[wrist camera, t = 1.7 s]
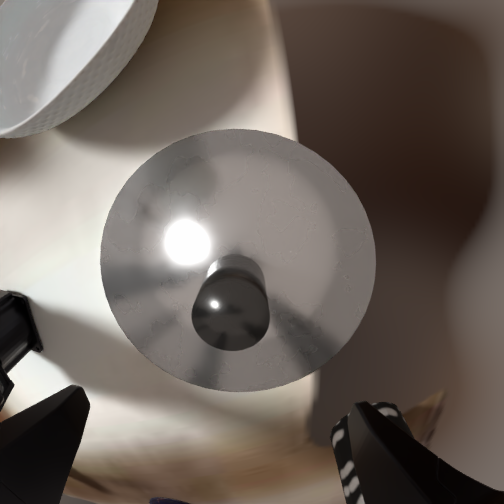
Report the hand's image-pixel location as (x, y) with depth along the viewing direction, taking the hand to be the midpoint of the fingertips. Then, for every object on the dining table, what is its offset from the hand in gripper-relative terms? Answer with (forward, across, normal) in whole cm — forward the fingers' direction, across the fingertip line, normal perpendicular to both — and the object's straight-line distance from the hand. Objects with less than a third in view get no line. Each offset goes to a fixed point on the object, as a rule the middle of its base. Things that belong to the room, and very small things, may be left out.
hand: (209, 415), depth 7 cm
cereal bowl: (+13, +13, -19) cm, 26 cm away
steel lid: (+13, 0, 0) cm, 13 cm away
